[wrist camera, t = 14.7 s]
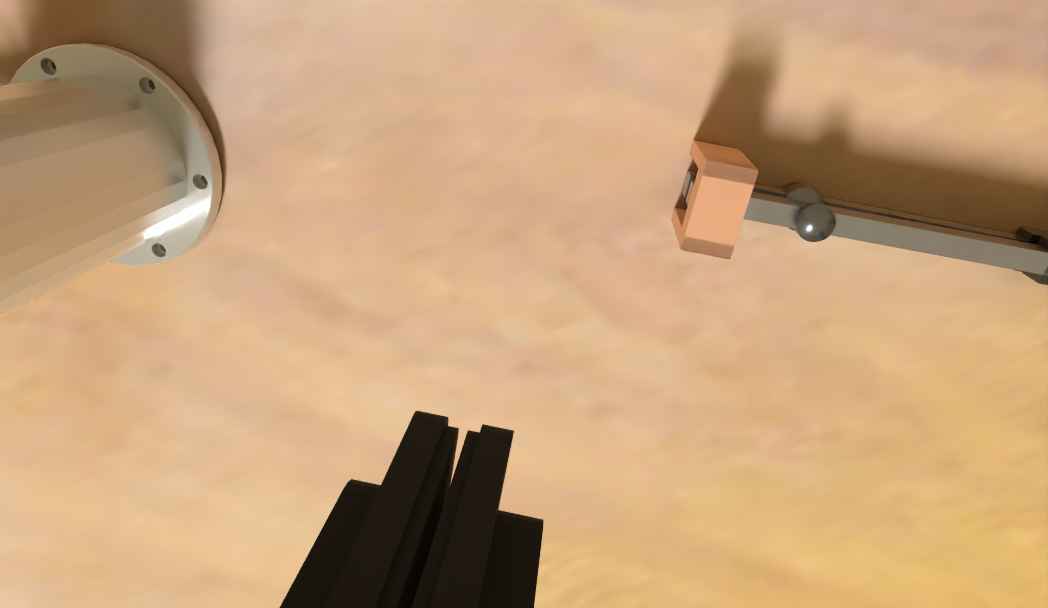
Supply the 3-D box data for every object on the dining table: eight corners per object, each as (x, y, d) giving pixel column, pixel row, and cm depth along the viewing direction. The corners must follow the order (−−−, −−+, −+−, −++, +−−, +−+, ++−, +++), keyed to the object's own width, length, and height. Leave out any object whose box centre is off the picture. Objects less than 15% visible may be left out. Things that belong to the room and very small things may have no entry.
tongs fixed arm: (679, 200, 36) (682, 208, 35) (690, 161, 35) (694, 167, 34) (1075, 278, 35) (1094, 289, 34) (1097, 240, 34) (1118, 249, 33)
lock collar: (671, 219, 36) (680, 249, 32) (693, 140, 34) (706, 160, 30) (714, 228, 36) (729, 259, 32) (739, 148, 34) (759, 170, 30)
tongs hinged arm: (683, 209, 34) (688, 220, 32) (693, 171, 33) (699, 181, 32) (1101, 287, 34) (1129, 303, 32) (1122, 251, 33) (1152, 265, 31)
